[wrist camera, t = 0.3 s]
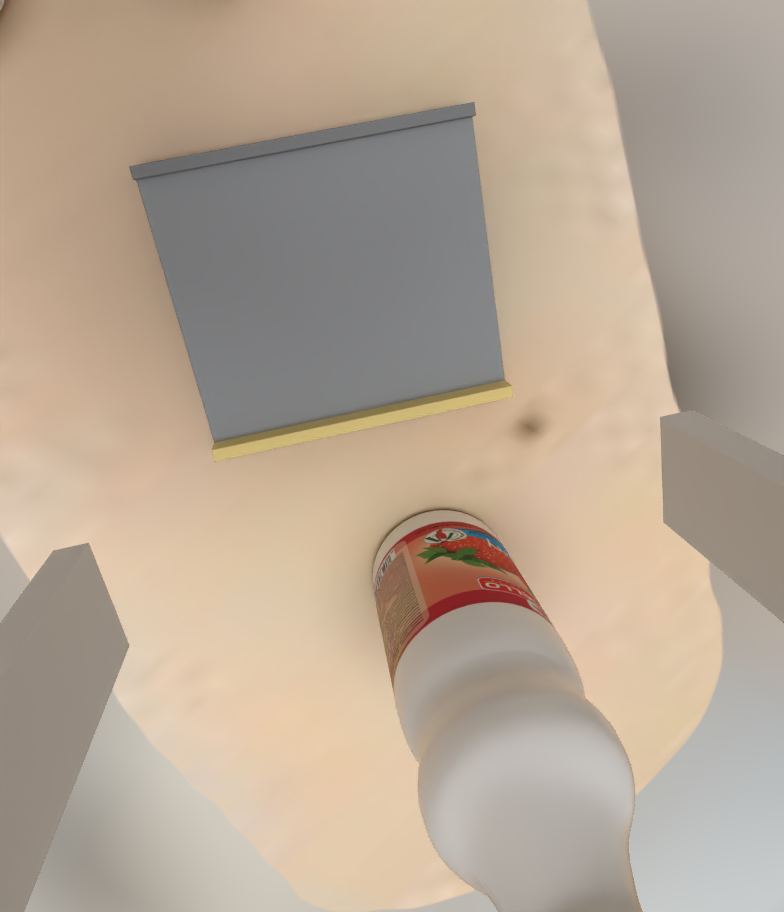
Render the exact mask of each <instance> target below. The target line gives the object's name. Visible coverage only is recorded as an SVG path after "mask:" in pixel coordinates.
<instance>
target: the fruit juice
mask: <svg viewBox="0 0 784 912" xmlns="http://www.w3.org/2000/svg"><path fill="white" fill-rule="evenodd" d="M372 583H373V591H374V596H375V601H376V606H377V611H378V617H379V622H380V627H381V632H382V637H383V642H384V647H385V652H386V657H387V662H388V667H389V672H390V677H391V682H392V687H393V692H394V699H395V704H396V709H397V713H398V717H399V720H400V724H401V727H402V730H403V733H404V736H405V739H406V742H407V744H408V746H409V748H410V750H411V752H412V754H413V756H414V757H415V759H416V760H417V762H418V763H419V769H418V801H419V807H420V811H421V814H422V818H423V821H424V825H425V828H426V831H427V834H428V836H429V838H430V841H431V843H432V845H433V847H434V848H435V850H436V852H437V853H438V855H439V856H440V858H441V859H442V860H443V862H444V863H445V864H446V865H447V867H448V868H449V869H450V870H451V871H452V872H453V873H454V874H455V875H457V876H458V877H459V878H460V879H461V880H463V881H464V882H465V883H466V884H468V885H469V886H471V887H472V888H474V889H476V890H477V891H479V892H481V893H482V894H484V895H486V896H487V897H488V898H489V899H490V900H491V902H492V903H493V904H494V906H495V907H496V909H497V910H498V912H643V911H642V909H641V906H640V903H639V900H638V896H637V892H636V888H635V884H634V878H633V874H632V869H631V864H630V856H629V837H630V831H631V825H632V820H633V814H634V807H635V783H634V776H633V771H632V767H631V764H630V761H629V758H628V755H627V753H626V751H625V748H624V746H623V744H622V743H621V741H620V739H619V737H618V735H617V733H616V731H615V729H614V728H613V726H612V725H611V724H610V722H609V721H608V720H607V719H606V717H605V716H604V715H603V714H602V713H601V712H600V711H599V710H598V709H597V708H596V707H595V706H594V705H593V704H592V703H591V702H590V701H588V700H587V699H586V698H585V692H584V687H583V683H582V679H581V676H580V674H579V671H578V669H577V667H576V664H575V662H574V660H573V658H572V656H571V654H570V652H569V651H568V649H567V647H566V645H565V643H564V641H563V640H562V638H561V637H560V635H559V634H558V632H557V631H556V629H555V628H554V626H553V625H552V623H551V622H550V620H549V618H548V617H547V615H546V614H545V612H544V610H543V609H542V607H541V606H540V604H539V602H538V601H537V599H536V598H535V596H534V594H533V593H532V591H531V590H530V588H529V586H528V585H527V583H526V582H525V580H524V578H523V577H522V575H521V574H520V572H519V570H518V569H517V567H516V566H515V564H514V562H513V561H512V559H511V558H510V556H509V555H508V553H507V551H506V550H505V548H504V547H503V545H502V543H501V542H500V540H499V539H498V537H497V536H496V535H495V534H494V533H493V532H492V531H491V530H490V529H489V528H488V527H487V526H486V525H485V524H484V523H482V522H481V521H479V520H478V519H476V518H474V517H472V516H470V515H467V514H465V513H461V512H457V511H451V510H436V511H430V512H425V513H422V514H419V515H416V516H414V517H412V518H410V519H408V520H406V521H404V522H403V523H401V524H400V525H399V526H397V527H396V528H395V529H394V530H393V531H392V532H391V533H390V534H389V535H388V536H387V538H386V539H385V540H384V542H383V543H382V545H381V547H380V549H379V551H378V553H377V556H376V558H375V562H374V566H373V579H372Z"/></svg>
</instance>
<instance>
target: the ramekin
mask: <svg viewBox="0 0 784 912" xmlns="http://www.w3.org/2000/svg"><path fill="white" fill-rule="evenodd" d="M4 1H5V0H0V11H1V9H2V8H3V5H4Z"/></svg>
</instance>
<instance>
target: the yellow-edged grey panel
mask: <svg viewBox="0 0 784 912" xmlns="http://www.w3.org/2000/svg"><path fill="white" fill-rule="evenodd" d="M475 115H476V112H475V104H474V102H472V103H467V104H461V105H456V106H450V107H445V108H440V109H434V110H429V111H424V112H418V113H413V114H408V115H402V116H397V117H392V118H386V119H381V120H376V121H370V122H365V123H360V124H354V125H349V126H344V127H338V128H333V129H327V130H322V131H317V132H311V133H306V134H301V135H295V136H290V137H285V138H279V139H274V140H269V141H263V142H258V143H253V144H247V145H242V146H237V147H231V148H226V149H220V150H215V151H210V152H204V153H199V154H194V155H188V156H183V157H178V158H172V159H167V160H162V161H156V162H151V163H146V164H140V165H135V166H130V171H131V174H132V177H133V179H134V180H137V183H138V186H139V190H140V193H141V196H142V200H143V203H144V206H145V210H146V213H147V217H148V220H149V223H150V227H151V230H152V233H153V237H154V240H155V243H156V247H157V250H158V254H159V257H160V260H161V264H162V267H163V270H164V274H165V277H166V281H167V284H168V287H169V291H170V294H171V297H172V301H173V304H174V307H175V311H176V314H177V318H178V321H179V324H180V328H181V331H182V334H183V338H184V341H185V345H186V348H187V351H188V355H189V358H190V361H191V365H192V368H193V372H194V375H195V378H196V382H197V385H198V388H199V392H200V395H201V398H202V402H203V405H204V409H205V412H206V415H207V419H208V422H209V425H210V429H211V432H212V436H213V439H214V445H213V448H212V450H211V451H212V454H213V458H214V461H220V460H224V459H229V458H234V457H238V456H243V455H248V454H252V453H257V452H261V451H266V450H271V449H275V448H280V447H285V446H289V445H294V444H298V443H303V442H308V441H312V440H317V439H322V438H326V437H331V436H335V435H340V434H345V433H349V432H354V431H359V430H363V429H368V428H373V427H377V426H382V425H386V424H391V423H396V422H400V421H405V420H410V419H414V418H419V417H423V416H428V415H433V414H437V413H442V412H447V411H451V410H456V409H460V408H465V407H470V406H474V405H479V404H484V403H488V402H493V401H498V400H502V399H507V398H511V397H513V389H512V385H510V384H509V383H508V382H506V381H505V379H504V371H503V362H502V354H501V346H500V338H499V330H498V322H497V314H496V306H495V298H494V290H493V282H492V274H491V266H490V258H489V250H488V241H487V233H486V225H485V217H484V209H483V201H482V193H481V185H480V177H479V169H478V161H477V153H476V145H475V137H474V128H473V120H472V117H473V116H475Z"/></svg>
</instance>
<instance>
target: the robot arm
mask: <svg viewBox="0 0 784 912" xmlns="http://www.w3.org/2000/svg"><path fill="white" fill-rule="evenodd" d="M660 426H661V457H662V489H663V520H664V523H665V524H666V525H667V526H669V527H670V528H671V529H672V530H673V531H675V532H676V533H677V534H678V535H679V536H681V537H682V538H683V539H684V540H685V541H687V542H688V543H689V544H690V545H691V546H692V547H694V548H695V549H696V550H697V551H698V552H700V553H701V554H702V555H703V556H704V557H706V558H707V559H708V560H709V561H710V562H712V563H713V564H714V565H715V566H716V567H718V568H719V569H720V570H721V571H723V572H724V573H725V574H726V575H727V576H728V577H729V578H731V579H732V580H733V581H734V582H735V583H737V584H738V585H739V586H740V587H742V588H743V589H744V590H745V591H746V592H747V593H749V594H750V595H751V596H752V597H753V598H755V599H756V600H757V601H758V602H759V603H760V604H762V605H763V606H764V607H765V608H767V609H768V610H769V611H770V612H771V613H772V614H774V615H775V616H776V617H777V618H778V619H780V620H781V621H782V622H783V623H784V455H782V454H779V453H778V452H776V451H773V450H771V449H769V448H767V447H766V446H764V445H761V444H759V443H757V442H755V441H753V440H751V439H749V438H747V437H745V436H743V435H741V434H739V433H737V432H735V431H733V430H731V429H729V428H727V427H725V426H723V425H721V424H719V423H716V422H715V421H713V420H711V419H709V418H707V417H704V416H703V415H701V414H698V413H697V412H694V411H693V410H690V411H685V412H681V413H676V414H672V415H667V416H663V417H660ZM128 648H129V643H128V641H127V638H126V636H125V633H124V631H123V628H122V625H121V623H120V620H119V618H118V615H117V613H116V610H115V608H114V605H113V603H112V600H111V598H110V595H109V593H108V590H107V588H106V585H105V583H104V580H103V578H102V575H101V573H100V570H99V568H98V565H97V563H96V560H95V557H94V555H93V552H92V550H91V547H90V545H89V543H86V544H82V545H77V546H73V547H68V548H64V549H59V550H54V551H53V552H52V553H51V555H50V556H49V557H48V559H47V560H46V561H45V563H44V564H43V566H42V567H41V568H40V570H39V571H38V572H37V574H36V575H35V576H34V578H33V579H32V581H31V582H30V583H29V585H28V586H27V587H26V589H25V590H24V591H23V593H22V594H21V595H20V597H19V598H18V600H17V601H16V603H15V604H14V605H13V606H12V608H11V609H10V610H9V612H8V613H7V615H6V616H5V617H4V619H3V620H2V622H1V623H0V912H24V911H25V908H26V906H27V903H28V901H29V898H30V896H31V893H32V891H33V888H34V886H35V883H36V881H37V878H38V875H39V873H40V870H41V868H42V865H43V863H44V860H45V858H46V855H47V853H48V850H49V848H50V845H51V843H52V840H53V838H54V835H55V832H56V830H57V827H58V825H59V822H60V820H61V817H62V815H63V812H64V810H65V807H66V805H67V802H68V800H69V797H70V795H71V792H72V789H73V787H74V784H75V782H76V779H77V777H78V774H79V772H80V769H81V767H82V764H83V762H84V759H85V756H86V754H87V752H88V749H89V746H90V744H91V741H92V739H93V736H94V734H95V731H96V729H97V726H98V724H99V721H100V718H101V716H102V714H103V711H104V708H105V706H106V703H107V701H108V698H109V696H110V693H111V691H112V688H113V686H114V683H115V681H116V678H117V676H118V673H119V671H120V668H121V666H122V663H123V660H124V658H125V655H126V653H127V650H128Z"/></svg>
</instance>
